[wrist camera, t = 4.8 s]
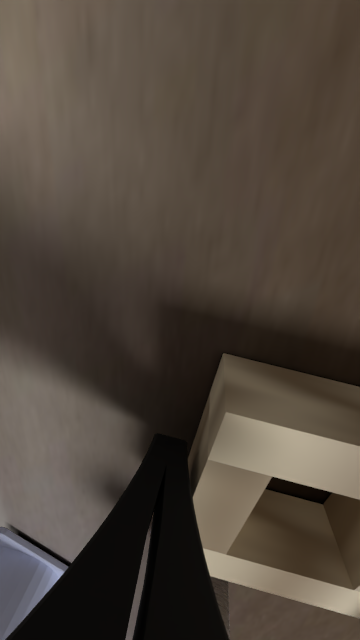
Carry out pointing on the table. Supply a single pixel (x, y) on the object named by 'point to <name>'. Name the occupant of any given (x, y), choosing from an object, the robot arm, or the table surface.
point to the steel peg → (222, 600)
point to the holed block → (285, 463)
